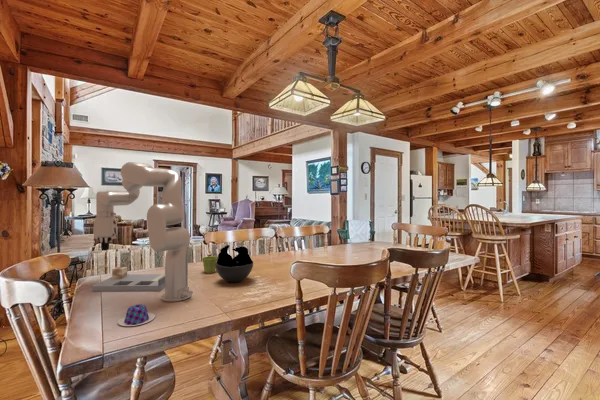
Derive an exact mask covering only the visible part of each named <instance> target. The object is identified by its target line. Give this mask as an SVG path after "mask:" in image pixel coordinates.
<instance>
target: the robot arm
mask: <svg viewBox="0 0 600 400" xmlns="http://www.w3.org/2000/svg"><path fill="white" fill-rule="evenodd" d="M120 175H121V177H122V180H121V185H122V187H123V188H124V190H106V191H104V190H103V191H97V192H96V193H95V194H96V196H95V198H96V206H95V208H96V212H95V213H96V215H95V216H96V217H95V218H94V221H93V228H92V229H93V231H92V232H93V233H92V234H93V239H95V240H98V241H99V243H100V246H101V247H100V248H101V251H104V252H105V251H109V248H110V242H111V241H113V240H114V239H117V235H118V223H117V219H116V217H115V216H116V215H117V213H116V212H115V211H114V210H115V209H114V207H115V206H116V207H117V206H128V205H132V204H133V203H134V202H135V201H136V200H137V199H138V198H139V197H140V192H141V191H140V190H141V188H143V187H150V188H151V187H155V188H157V187H158V188H163V189H162V191H161V203H156V204H152V205H151V206H150V207H149V208H148V210H147V212H146V222H147V233H148V234H147V235H148V240H149V246H150V247H151V249H152V250H153V251H154V252H166V255H165V259H164V274H165V288H164V293H163V294H161V296H160V299H161V301H163V302H168V303H169V302H180V301H181V302H182V301H185V300H187V299H189V298H191V297H192V295H193V293H194V292H193V290H190V286H188V285H189V283H188V280H189V279H188V277H189V273H188V272H189V270H188V269H189V264H188V263H189V248H190V242H191V234H190V233H191V232H190V231H189V230H188V229H187V228H185V227H183V226H176V227H175V226H174V227H168V228H167V226H170V225H171V226H172V225H178V224H180V223H182V222H183V221H184V218H185V214H184V213H185V212H184V211H185V210H184V204H183V197H182V187H183V186H182V185H183V183H182V177H181V176H180V174H179V173H178V172H177V171H176V170H172V169H169V168H168V169H167V168H159V167H153V166H152V165H150V164H148V163H144V162H143V163H141V162H132V161H130V162H129V161H128V162H125V163H124V164H123V165H122V167H121V168H120Z"/></svg>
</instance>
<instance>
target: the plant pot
mask: <svg viewBox="0 0 600 400" xmlns="http://www.w3.org/2000/svg"><path fill="white" fill-rule="evenodd" d="M217 258H218V256H214V255H213V256H211V255H210V256H203V257H201V260H202V262H203V263H202V264H203V270H204V273H205V274H214V273H216V267H215V263H216V262H217Z"/></svg>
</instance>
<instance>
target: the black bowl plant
mask: <svg viewBox="0 0 600 400" xmlns="http://www.w3.org/2000/svg"><path fill="white" fill-rule="evenodd" d="M229 249H230V245H229V244H227V245H225V246H224V247H222V248H220V249H219V253H218V254H217V257H218V258H217V262H216V263H215V267H216V270H215V272H216V273H217V274H218V276H219V277H221V279H223V280H224V281H227V282H229V283H237V282H241V281H242V280H243V281H244V280H245V279H246V278H247V277H249V275H250V274H251V272H252V270H253V268H254V261H253V260H252V258H251V256H250V255H249V254H250V253H249V248H247V247H246V246H239V247H237V246H236V247H235V248H232V251H234V252H235V253H238V254H236V255H235V256H234V257H233V256H232V255H230V253H228V250H229Z"/></svg>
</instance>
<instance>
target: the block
mask: <svg viewBox="0 0 600 400" xmlns="http://www.w3.org/2000/svg"><path fill="white" fill-rule="evenodd" d="M111 272H112V273H111V277H112V279H123V278H125V277H127V274H128V267H127V266H116V267H115V268H112V269H111Z"/></svg>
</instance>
